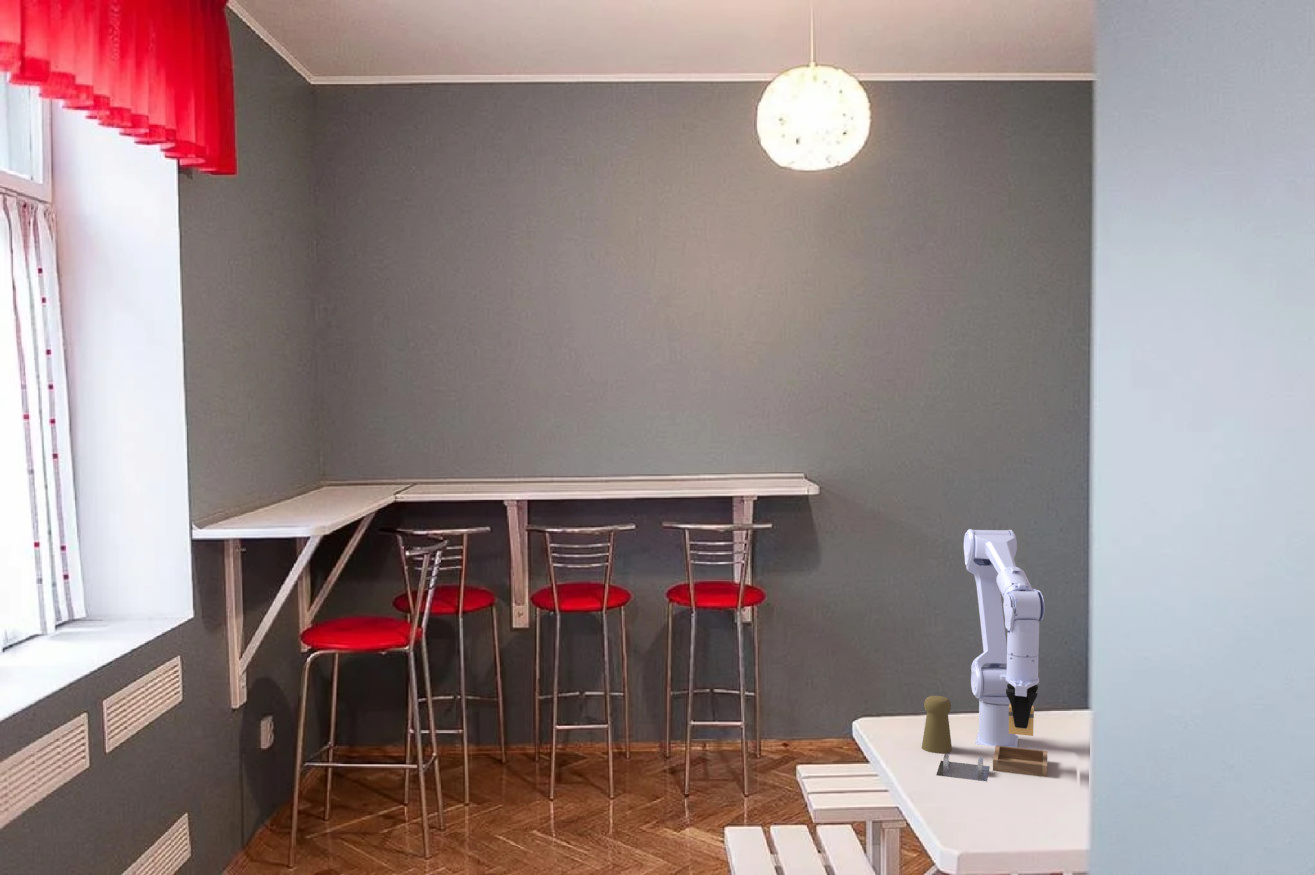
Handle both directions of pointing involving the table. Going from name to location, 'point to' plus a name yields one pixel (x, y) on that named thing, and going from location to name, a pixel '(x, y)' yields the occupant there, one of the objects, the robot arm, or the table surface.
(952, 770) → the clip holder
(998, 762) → the tray
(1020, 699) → the robot arm
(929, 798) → the table surface
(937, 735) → the cork
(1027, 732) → the block
